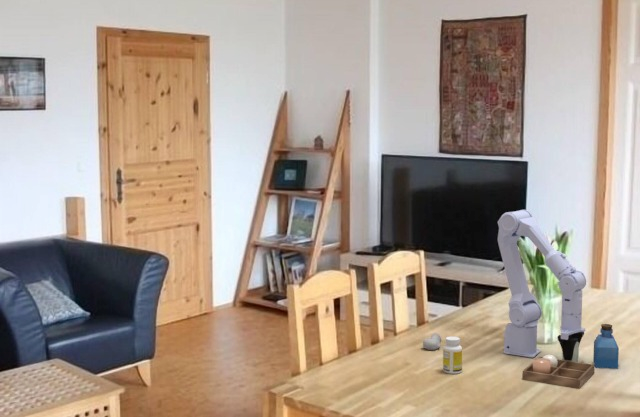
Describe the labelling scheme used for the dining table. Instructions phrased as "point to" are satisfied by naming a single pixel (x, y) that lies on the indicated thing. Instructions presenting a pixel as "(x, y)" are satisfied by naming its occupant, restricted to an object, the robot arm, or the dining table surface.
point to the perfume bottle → (606, 349)
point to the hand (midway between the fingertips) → (570, 357)
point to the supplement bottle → (452, 356)
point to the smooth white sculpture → (432, 342)
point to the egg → (552, 360)
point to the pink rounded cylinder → (541, 365)
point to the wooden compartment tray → (562, 374)
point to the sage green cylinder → (574, 353)
